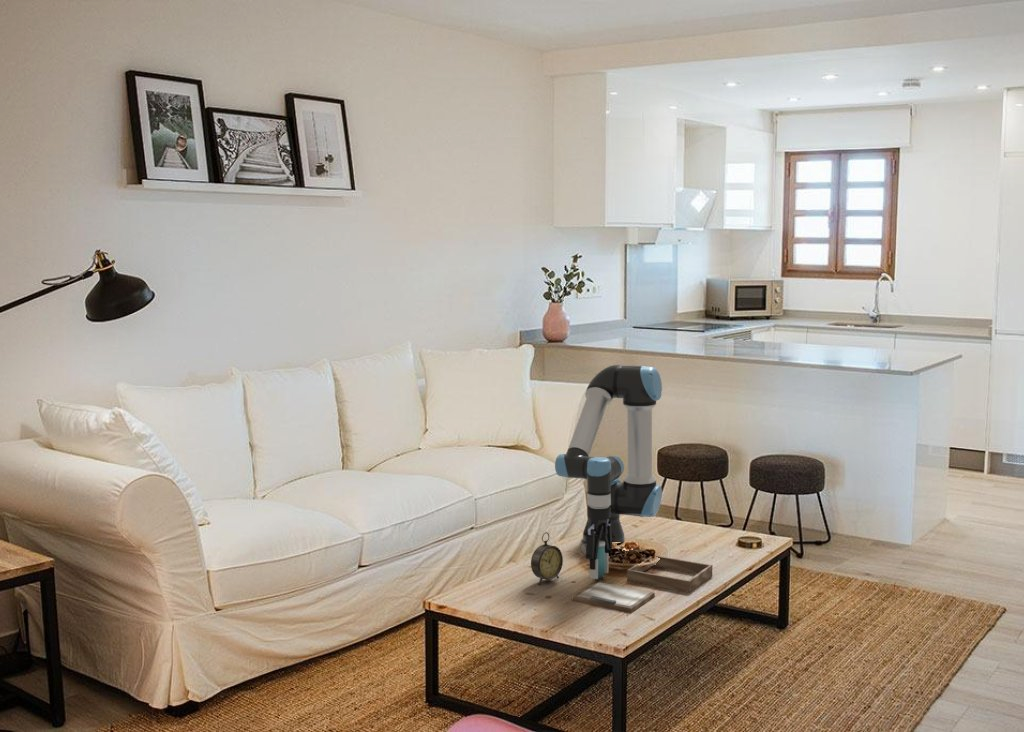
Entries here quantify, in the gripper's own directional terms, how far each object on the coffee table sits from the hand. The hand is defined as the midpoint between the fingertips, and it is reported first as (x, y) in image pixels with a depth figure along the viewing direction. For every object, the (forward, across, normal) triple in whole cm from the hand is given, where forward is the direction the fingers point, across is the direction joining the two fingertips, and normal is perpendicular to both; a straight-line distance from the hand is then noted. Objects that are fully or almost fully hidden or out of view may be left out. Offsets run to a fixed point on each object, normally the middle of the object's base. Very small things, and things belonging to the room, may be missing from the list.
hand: (599, 575), depth 336 cm
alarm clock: (+2, +10, -14) cm, 17 cm away
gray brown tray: (+1, -13, +19) cm, 23 cm away
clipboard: (+1, +13, +12) cm, 18 cm away
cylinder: (+1, 0, 0) cm, 1 cm away
